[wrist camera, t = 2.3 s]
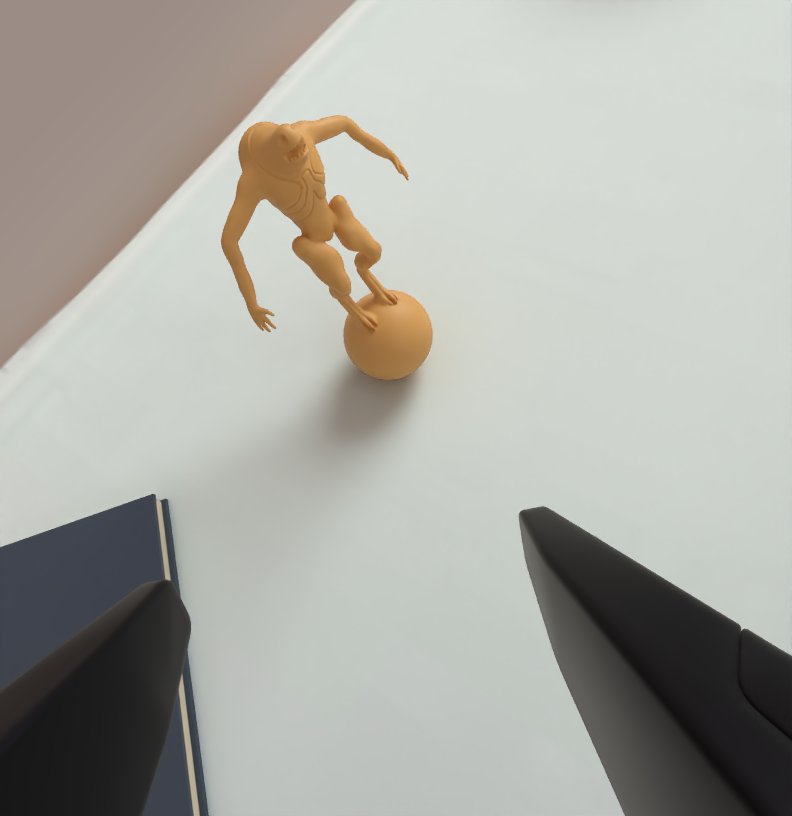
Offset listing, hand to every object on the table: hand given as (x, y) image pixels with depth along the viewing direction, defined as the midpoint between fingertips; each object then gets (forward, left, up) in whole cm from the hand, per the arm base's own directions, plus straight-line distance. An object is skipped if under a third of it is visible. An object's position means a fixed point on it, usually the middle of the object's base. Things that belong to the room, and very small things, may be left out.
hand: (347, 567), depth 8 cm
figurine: (+12, -2, -14) cm, 18 cm away
